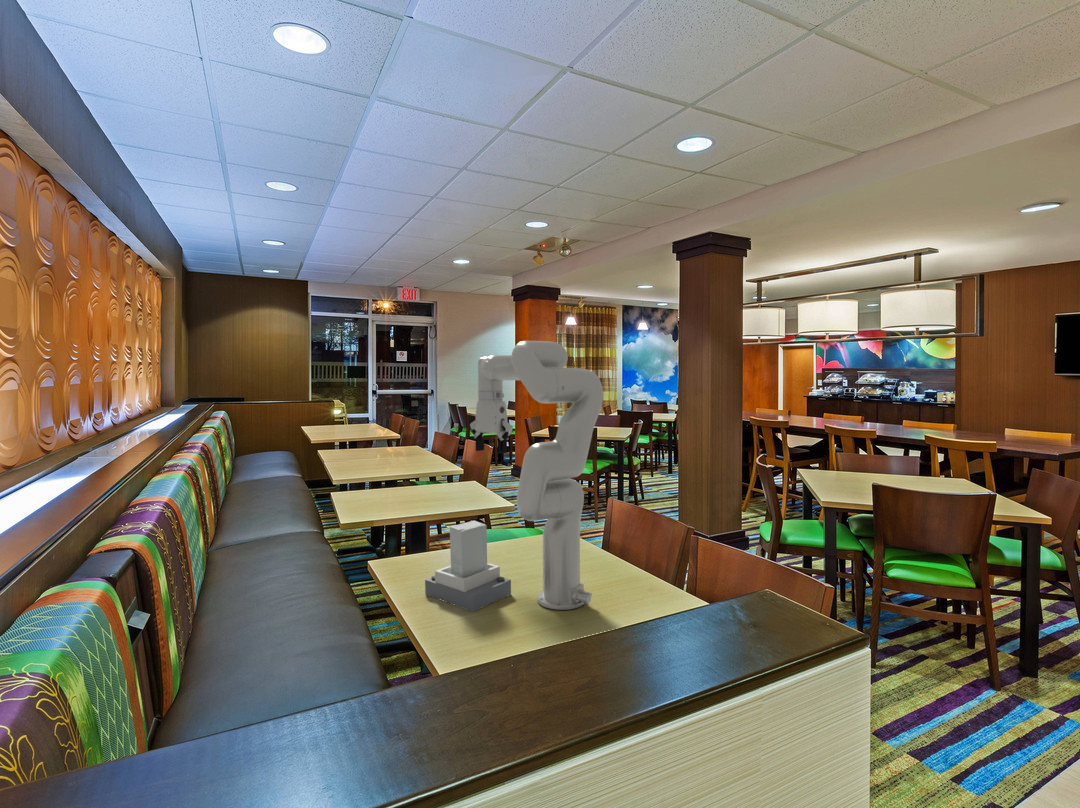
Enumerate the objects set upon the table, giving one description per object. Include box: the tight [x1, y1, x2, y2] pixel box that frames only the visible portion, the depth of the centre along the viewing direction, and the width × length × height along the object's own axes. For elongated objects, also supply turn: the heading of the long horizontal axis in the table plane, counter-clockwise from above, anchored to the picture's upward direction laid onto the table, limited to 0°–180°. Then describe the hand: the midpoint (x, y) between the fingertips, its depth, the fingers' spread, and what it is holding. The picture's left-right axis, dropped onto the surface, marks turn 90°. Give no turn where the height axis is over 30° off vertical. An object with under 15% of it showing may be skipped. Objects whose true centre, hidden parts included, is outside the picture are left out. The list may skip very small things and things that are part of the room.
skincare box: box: [449, 520, 488, 578], centre depth 149 cm, size 8×6×15 cm
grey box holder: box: [424, 562, 512, 612], centre depth 149 cm, size 18×14×7 cm
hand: (491, 451), depth 175 cm, fingers open, 9 cm apart
